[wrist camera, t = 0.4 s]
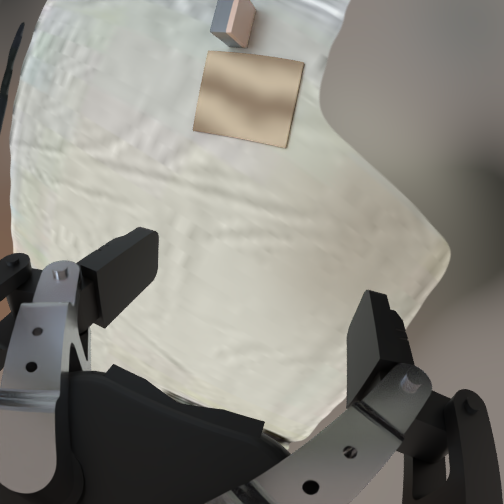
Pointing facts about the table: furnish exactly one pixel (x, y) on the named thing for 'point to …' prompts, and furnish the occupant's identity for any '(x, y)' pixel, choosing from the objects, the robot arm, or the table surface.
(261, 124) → the tan wavy tile
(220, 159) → the table surface
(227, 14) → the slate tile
